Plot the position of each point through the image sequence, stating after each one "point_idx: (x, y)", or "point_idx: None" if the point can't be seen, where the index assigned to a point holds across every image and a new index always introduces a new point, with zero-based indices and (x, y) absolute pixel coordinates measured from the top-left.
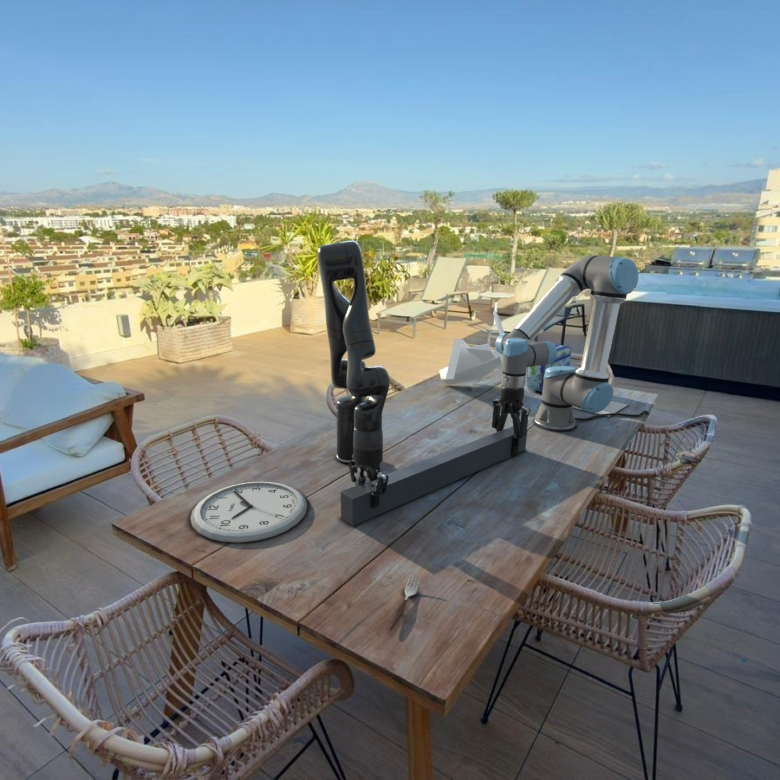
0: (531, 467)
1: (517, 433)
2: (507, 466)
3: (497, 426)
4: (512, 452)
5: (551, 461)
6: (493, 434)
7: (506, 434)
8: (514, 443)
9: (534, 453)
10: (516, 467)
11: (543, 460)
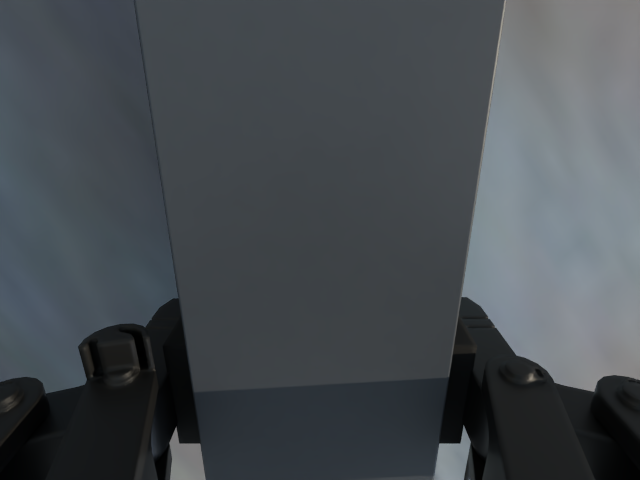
0: (12, 201)
1: (71, 426)
2: (131, 38)
3: (555, 421)
4: None
5: None
6: (449, 129)
7: (275, 324)
8: None
9: None
10: (71, 93)
11: (75, 368)
